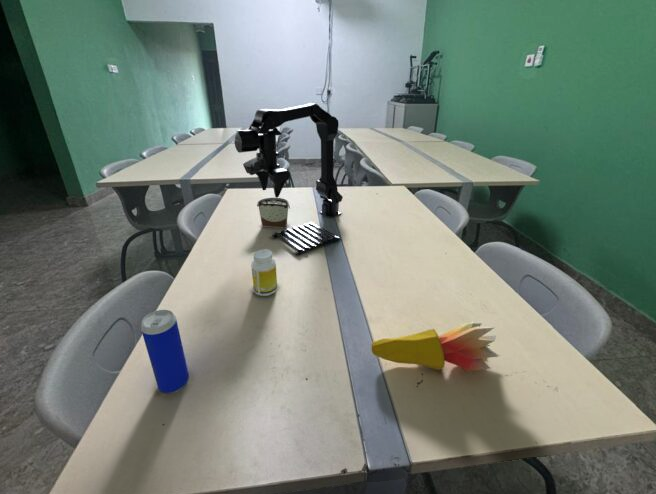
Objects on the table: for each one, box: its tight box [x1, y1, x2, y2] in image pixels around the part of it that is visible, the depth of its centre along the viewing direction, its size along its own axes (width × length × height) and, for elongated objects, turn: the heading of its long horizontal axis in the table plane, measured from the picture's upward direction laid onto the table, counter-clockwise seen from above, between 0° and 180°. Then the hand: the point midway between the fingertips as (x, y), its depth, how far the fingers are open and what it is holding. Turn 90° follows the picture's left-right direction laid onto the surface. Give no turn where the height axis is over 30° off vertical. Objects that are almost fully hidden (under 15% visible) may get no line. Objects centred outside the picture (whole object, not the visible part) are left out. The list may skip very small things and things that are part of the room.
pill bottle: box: [250, 249, 278, 297], centre depth 82 cm, size 6×6×11 cm
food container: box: [256, 197, 291, 229], centre depth 121 cm, size 12×6×10 cm, turn 84°
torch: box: [370, 321, 501, 372], centre depth 63 cm, size 8×8×25 cm
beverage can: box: [140, 309, 190, 394], centre depth 55 cm, size 5×5×15 cm
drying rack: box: [271, 221, 341, 256], centre depth 112 cm, size 18×16×2 cm
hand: (270, 193), depth 112 cm, fingers open, 9 cm apart
